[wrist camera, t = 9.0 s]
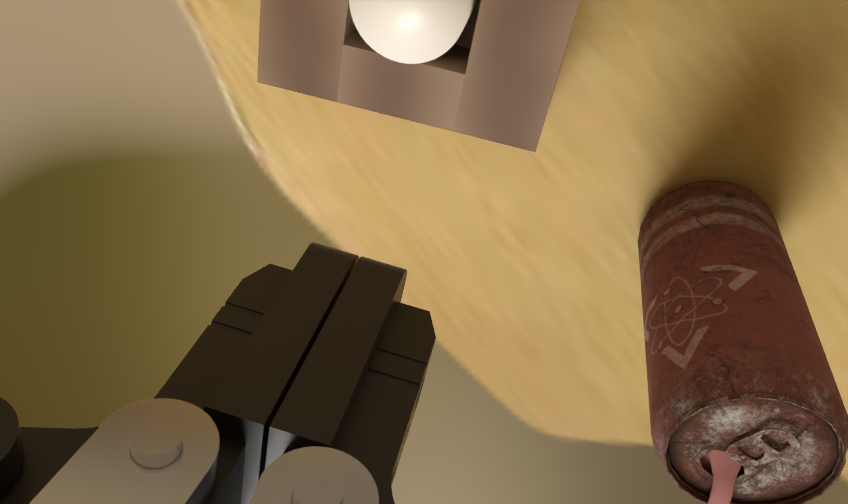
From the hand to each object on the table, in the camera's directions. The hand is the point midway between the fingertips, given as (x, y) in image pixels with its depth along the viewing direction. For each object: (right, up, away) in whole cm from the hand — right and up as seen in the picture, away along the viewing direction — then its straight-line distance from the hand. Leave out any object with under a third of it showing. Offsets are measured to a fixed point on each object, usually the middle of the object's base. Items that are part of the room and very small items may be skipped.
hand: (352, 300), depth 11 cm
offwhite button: (+1, +12, +18) cm, 22 cm away
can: (+15, +2, +24) cm, 28 cm away
